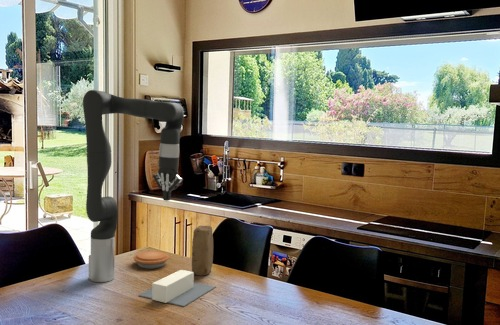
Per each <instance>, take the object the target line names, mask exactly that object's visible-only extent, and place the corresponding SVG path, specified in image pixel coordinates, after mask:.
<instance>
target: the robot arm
mask: <svg viewBox="0 0 500 325" xmlns="http://www.w3.org/2000/svg"><path fill="white" fill-rule="evenodd" d="M82 106H83V107H82V109H83V115H84V117H83V118H84V123H85V135H86V136H85V139H86V140H85V141H86V165H87V187H86V188H87V189H86V203H85V210H86V216H87V217H88V220H89V221H90V222H93V223H96V222H98V224H97V225H96V226H95V227H94V228H92V229H91V230H90V254H89V255H88V279H89V280H90V281H91V282H94V283H107V282H110V281H113V280H115V266H116V265H115V261H116V260H115V258H116V257H115V253H116V249H115V248H116V239H115V238H116V231H117V228H118V215H119V214H118V213H119V212H118V210H119V209H118V208H119V207H118V203H117V200H116V199H115V197H112V196H102V195H103V194H102V192H103V185H104V182H105V179H106V178H107V175H108V174H109V172H110V169H111V167H112V147H111V144H110V140H109V139H108V136H107V133H106V131H105V129H104V123H103V115H109V114H110V115H112V114H120V115H121V114H124V115H129V116H133V117H138V118H144V119H153V120H157V121H162V122H165V125H164V127H163V128H162V129H161V130H160V141H159V142H160V144H159V148H158V151H159V152H158V166H157V167H158V170H157V173H155V174H152V177H153V179H154V181H155V183H156V185H157V187H158V189H161V190H162V199H163V201H166V202H169V201H170V200H171V198H172V191H174V190H177V189H178V187H179V186H180V185H181V183H182V182H183V180H184V179H183V177H180V175H179V172H178V169H179V164H180V163H179V160H180V133H181V129H182V126H183V123H184V122H183V121H184V116H185V111H184V108H183V106H182V105H181V104H180V103H177V102H171V101H170V102H168V101H156V100H152V99H146V98H145V99H144V98H132V97H131V98H130V97H129V98H127V97H122V96H121V97H120V96H117V95H115V94H112V93H108V92H106V91H104V90H103V91H102V90H96V89H91V90H88V91H86V93H85V94H84V96H83V100H82Z"/></svg>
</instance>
